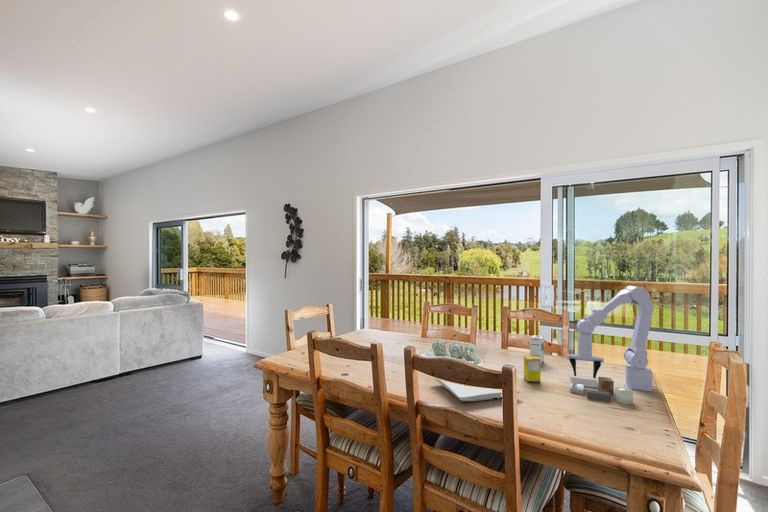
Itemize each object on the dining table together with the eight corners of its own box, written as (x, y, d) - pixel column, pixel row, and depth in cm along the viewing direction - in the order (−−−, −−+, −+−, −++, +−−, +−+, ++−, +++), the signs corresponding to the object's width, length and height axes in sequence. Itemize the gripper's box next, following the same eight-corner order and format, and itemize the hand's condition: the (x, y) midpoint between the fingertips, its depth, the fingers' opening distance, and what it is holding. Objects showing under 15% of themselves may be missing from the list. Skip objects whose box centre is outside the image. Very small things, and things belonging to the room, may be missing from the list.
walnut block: (610, 391, 159) (610, 377, 159) (613, 395, 154) (613, 381, 154) (598, 390, 160) (598, 376, 160) (601, 394, 155) (601, 380, 155)
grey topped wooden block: (571, 388, 164) (571, 382, 164) (584, 390, 161) (584, 384, 161) (569, 393, 158) (569, 387, 158) (583, 395, 155) (583, 389, 155)
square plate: (460, 406, 143) (460, 396, 143) (431, 383, 170) (431, 374, 170) (520, 399, 151) (520, 389, 151) (484, 377, 177) (484, 369, 177)
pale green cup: (630, 400, 149) (631, 387, 149) (634, 405, 144) (634, 393, 144) (613, 398, 152) (613, 385, 152) (616, 403, 146) (616, 390, 146)
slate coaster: (596, 381, 171) (596, 380, 171) (600, 389, 161) (600, 388, 161) (570, 378, 175) (570, 377, 175) (572, 386, 165) (572, 384, 165)
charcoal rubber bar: (608, 399, 151) (608, 392, 151) (610, 402, 148) (610, 394, 148) (586, 396, 154) (586, 389, 154) (587, 399, 151) (587, 391, 151)
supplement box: (536, 378, 175) (536, 355, 174) (540, 383, 169) (540, 359, 169) (523, 378, 175) (523, 355, 175) (527, 382, 169) (527, 358, 169)
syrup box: (541, 365, 195) (541, 338, 195) (529, 363, 198) (529, 336, 198) (544, 363, 199) (544, 336, 199) (532, 361, 203) (532, 334, 203)
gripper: (601, 346, 169) (601, 376, 169) (566, 343, 174) (566, 372, 175) (604, 349, 162) (604, 380, 162) (567, 346, 168) (567, 376, 168)
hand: (584, 376), depth 168 cm, fingers open, 7 cm apart
